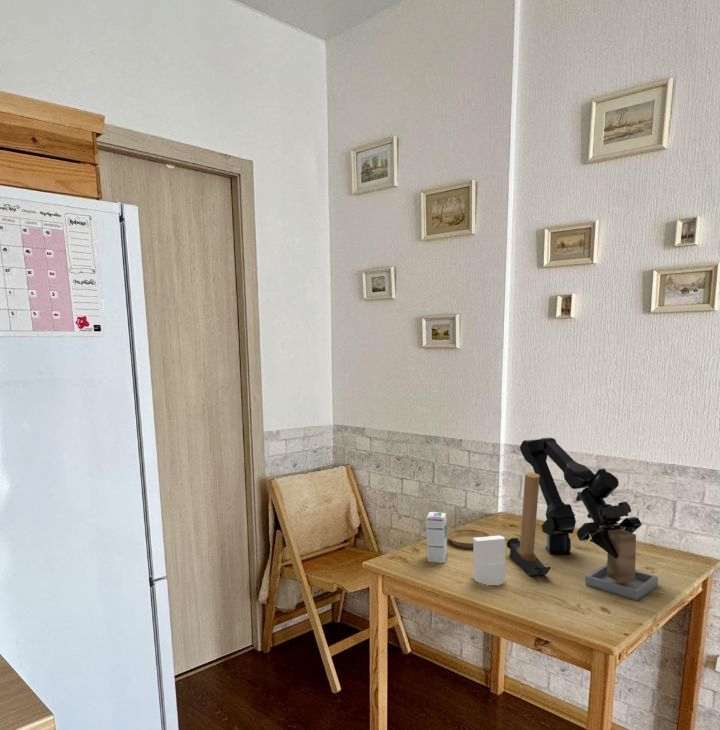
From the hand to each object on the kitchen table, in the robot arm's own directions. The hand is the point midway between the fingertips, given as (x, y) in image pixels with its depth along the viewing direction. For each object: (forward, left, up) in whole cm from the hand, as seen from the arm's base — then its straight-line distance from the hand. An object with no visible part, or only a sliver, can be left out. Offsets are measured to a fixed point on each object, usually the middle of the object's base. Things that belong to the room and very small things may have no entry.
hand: (625, 556), depth 151 cm
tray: (-1, +1, -8) cm, 9 cm away
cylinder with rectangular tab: (-37, +4, -9) cm, 38 cm away
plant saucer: (-39, +35, -9) cm, 53 cm away
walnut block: (-1, +1, -7) cm, 7 cm away
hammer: (-24, +14, -9) cm, 29 cm away
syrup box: (-51, +19, -9) cm, 55 cm away
